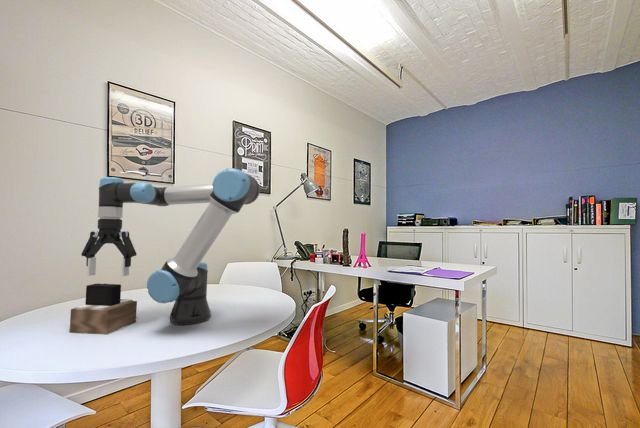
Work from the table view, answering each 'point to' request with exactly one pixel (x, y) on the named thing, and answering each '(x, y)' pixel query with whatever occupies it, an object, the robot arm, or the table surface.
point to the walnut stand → (102, 317)
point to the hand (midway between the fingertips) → (108, 275)
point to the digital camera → (103, 294)
